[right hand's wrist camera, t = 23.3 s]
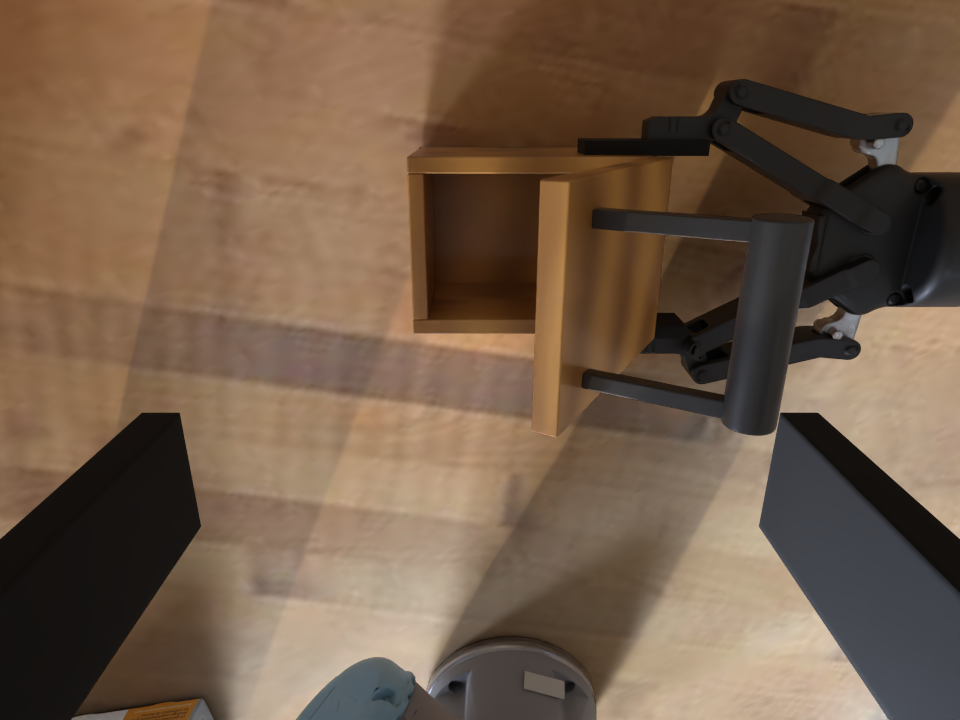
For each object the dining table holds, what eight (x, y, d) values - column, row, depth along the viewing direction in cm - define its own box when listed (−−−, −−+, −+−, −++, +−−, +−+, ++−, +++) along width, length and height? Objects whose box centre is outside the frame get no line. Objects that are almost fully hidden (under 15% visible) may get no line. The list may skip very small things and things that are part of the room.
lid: (531, 431, 25) (760, 490, 21) (539, 178, 21) (815, 193, 18) (634, 335, 36) (799, 363, 32) (651, 157, 32) (837, 163, 28)
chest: (424, 291, 44) (413, 334, 36) (420, 147, 41) (406, 156, 32) (609, 291, 44) (642, 333, 36) (620, 147, 41) (659, 156, 32)
